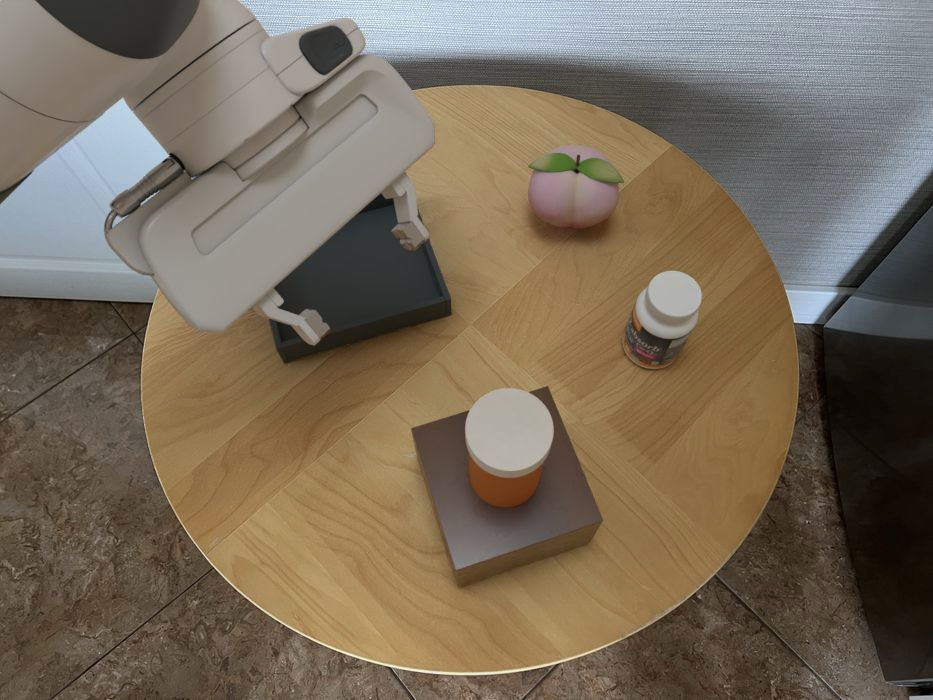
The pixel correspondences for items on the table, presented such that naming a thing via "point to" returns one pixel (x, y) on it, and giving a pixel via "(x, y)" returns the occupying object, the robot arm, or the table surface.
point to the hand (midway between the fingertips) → (370, 289)
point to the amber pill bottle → (507, 445)
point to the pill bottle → (662, 320)
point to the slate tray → (362, 285)
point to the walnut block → (499, 528)
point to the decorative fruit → (573, 187)
